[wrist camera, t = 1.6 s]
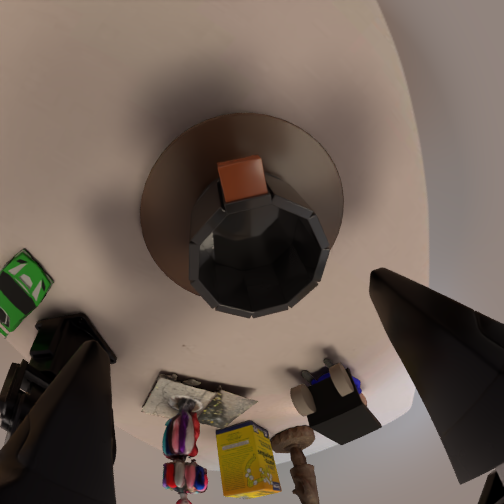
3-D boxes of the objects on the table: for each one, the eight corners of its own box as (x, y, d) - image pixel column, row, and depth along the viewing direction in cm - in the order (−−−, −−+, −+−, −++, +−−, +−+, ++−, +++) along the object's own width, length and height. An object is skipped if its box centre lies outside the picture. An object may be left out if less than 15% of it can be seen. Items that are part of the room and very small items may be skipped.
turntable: (338, 268, 22) (344, 277, 21) (179, 308, 22) (179, 318, 21) (327, 99, 15) (335, 99, 14) (117, 145, 15) (111, 149, 14)
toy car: (22, 241, 16) (8, 257, 14) (60, 284, 19) (50, 302, 17) (-17, 293, 18) (-27, 308, 16) (14, 325, 20) (6, 341, 18)
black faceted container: (306, 256, 19) (331, 298, 15) (205, 280, 19) (208, 329, 15) (292, 132, 15) (323, 147, 11) (167, 160, 14) (154, 185, 11)
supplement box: (268, 429, 37) (283, 491, 28) (234, 440, 38) (244, 499, 29) (251, 419, 34) (265, 489, 25) (214, 430, 35) (223, 497, 25)
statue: (143, 399, 30) (124, 505, 17) (163, 361, 26) (139, 500, 13) (222, 422, 33) (222, 522, 20) (257, 390, 29) (266, 515, 16)
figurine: (262, 436, 38) (287, 544, 21) (307, 422, 38) (341, 531, 21) (278, 447, 43) (301, 538, 26) (317, 435, 43) (346, 526, 26)
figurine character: (276, 363, 30) (328, 409, 36) (289, 419, 23) (342, 451, 29) (329, 333, 29) (369, 387, 35) (353, 388, 22) (387, 428, 28)
